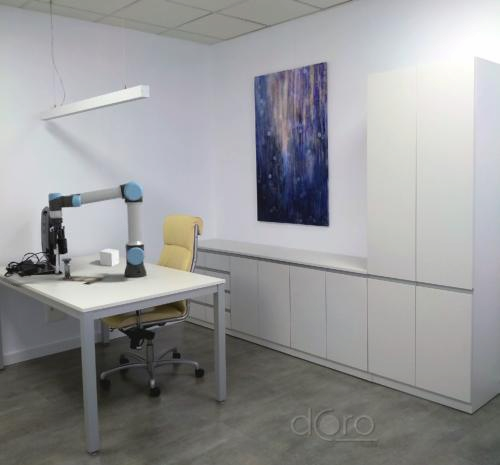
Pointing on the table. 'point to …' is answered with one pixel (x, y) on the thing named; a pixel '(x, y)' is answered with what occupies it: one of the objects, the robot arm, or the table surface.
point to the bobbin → (67, 268)
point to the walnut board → (83, 279)
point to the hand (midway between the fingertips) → (58, 253)
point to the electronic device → (59, 246)
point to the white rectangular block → (109, 257)
